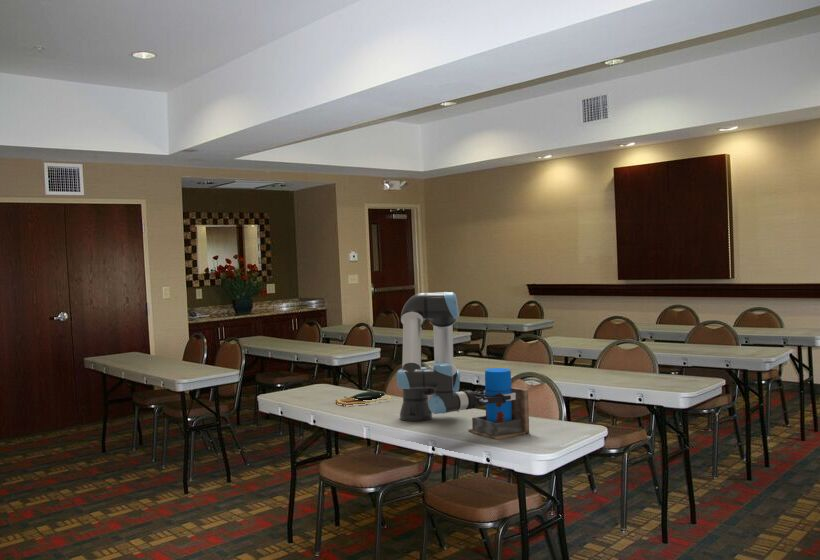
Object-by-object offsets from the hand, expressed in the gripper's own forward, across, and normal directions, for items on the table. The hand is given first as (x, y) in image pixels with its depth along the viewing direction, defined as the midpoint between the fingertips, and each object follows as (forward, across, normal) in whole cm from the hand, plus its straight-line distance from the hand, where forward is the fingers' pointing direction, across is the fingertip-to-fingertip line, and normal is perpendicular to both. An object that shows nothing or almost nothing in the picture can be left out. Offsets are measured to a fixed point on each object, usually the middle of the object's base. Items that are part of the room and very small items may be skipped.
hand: (505, 394), depth 297 cm
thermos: (-4, 0, -14) cm, 15 cm away
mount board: (-4, 0, -16) cm, 16 cm away
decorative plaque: (-12, -102, -16) cm, 104 cm away
